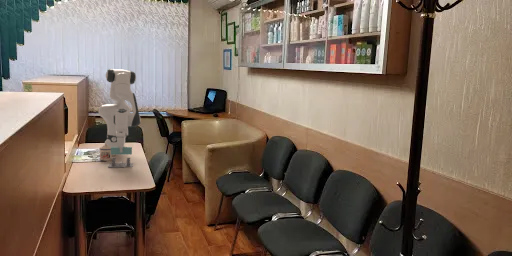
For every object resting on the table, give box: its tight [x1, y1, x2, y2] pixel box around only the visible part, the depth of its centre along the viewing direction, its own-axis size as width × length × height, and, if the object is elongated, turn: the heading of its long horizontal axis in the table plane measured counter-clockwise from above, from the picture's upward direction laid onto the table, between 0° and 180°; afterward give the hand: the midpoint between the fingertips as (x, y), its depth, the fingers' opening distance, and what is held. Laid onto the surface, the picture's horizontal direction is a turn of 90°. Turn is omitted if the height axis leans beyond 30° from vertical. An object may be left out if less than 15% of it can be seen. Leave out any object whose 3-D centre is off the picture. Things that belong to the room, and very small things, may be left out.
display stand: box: [108, 157, 134, 169], centre depth 294 cm, size 10×16×6 cm, turn 104°
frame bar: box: [111, 146, 133, 156], centre depth 292 cm, size 2×14×5 cm, turn 104°
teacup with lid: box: [99, 143, 116, 162], centre depth 311 cm, size 12×9×12 cm
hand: (121, 151), depth 292 cm, fingers closed on frame bar, 2 cm apart
